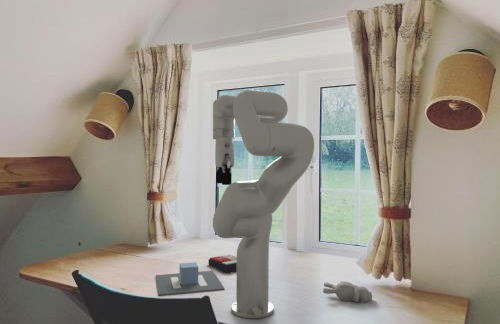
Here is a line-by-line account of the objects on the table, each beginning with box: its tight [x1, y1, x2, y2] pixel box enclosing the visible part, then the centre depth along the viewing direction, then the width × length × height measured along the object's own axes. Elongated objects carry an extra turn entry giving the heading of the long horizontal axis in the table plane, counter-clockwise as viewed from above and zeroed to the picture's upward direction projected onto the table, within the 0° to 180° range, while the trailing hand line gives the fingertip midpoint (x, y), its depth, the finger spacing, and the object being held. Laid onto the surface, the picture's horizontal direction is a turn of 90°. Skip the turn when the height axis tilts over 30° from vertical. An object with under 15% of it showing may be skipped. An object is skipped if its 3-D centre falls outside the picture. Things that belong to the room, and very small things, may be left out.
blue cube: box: [179, 262, 199, 285], centre depth 136 cm, size 6×6×6 cm
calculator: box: [208, 254, 237, 274], centre depth 157 cm, size 11×4×15 cm
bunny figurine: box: [322, 281, 373, 304], centre depth 121 cm, size 10×5×15 cm
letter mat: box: [155, 270, 225, 297], centre depth 137 cm, size 22×22×1 cm
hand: (223, 183), depth 131 cm, fingers open, 9 cm apart
